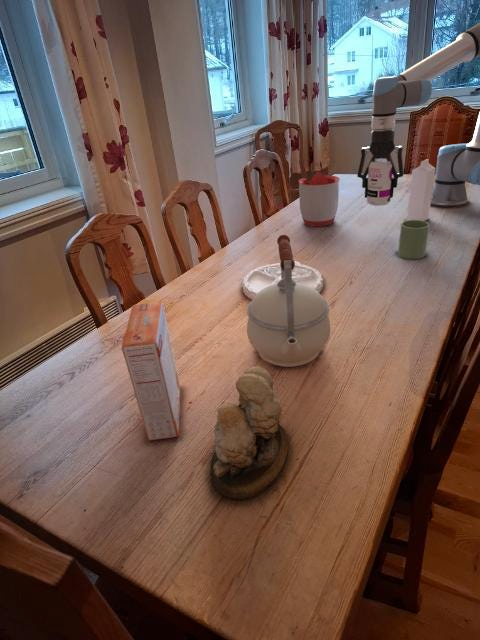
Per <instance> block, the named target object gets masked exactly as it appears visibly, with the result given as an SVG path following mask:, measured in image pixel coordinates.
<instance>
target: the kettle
mask: <svg viewBox="0 0 480 640" xmlns="http://www.w3.org/2000/svg"><path fill="white" fill-rule="evenodd" d="M276 243H277V245H278V255H279V260H280V266H281V280H280V281H279V282H278V283H277V284H273V285H270V286H268V287H266V288H264V289H262V290H261V291H259V292H258V293H257V294H256V296H255V297H254V298H253V300H252V299H251V301H250V302H249V303H248V305H247V307H246V316H247V317H248V318H247V321H246V322H247V323H246V336H247V338H248V341H249V344H250V345H251V346H252V348H254V350H255V351H256V352H258V355H259V356H260V358H261V359H262V360H264V361H265V362H266V363H269V364H271V365H274V366H276V367H277V366H278V367H283V368H285V367H286V368H291V367H299V366H304V365H306V364H308V363H311V362H313V361H314V360H315V359H316V358H317V357H318V356H319V354H320V353H321V350H322V349H323V348H324V347H325V346H326V344H327V343H328V341H329V339H330V336H331V321H330V318H329V312H330V305H329V303H328V301H327V300H326V299H325V298H324V297H323V296H322V295H321V294H320V293H319V292H318V291H316V290H315V289H314V288H312V287H310V286H308V285H305V284H301V283H296V282H294V281H293V280H292V270H293V269H294V267H295V263H294V261H295V260H294V257H293V256H294V255H293V251H292V246H291V239H290V237H289V236H288V235H287V234H279V236H278V237H277V241H276Z"/></svg>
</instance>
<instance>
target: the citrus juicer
mask: <svg viewBox="0 0 480 640" xmlns="http://www.w3.org/2000/svg"><path fill="white" fill-rule="evenodd" d="M298 184H299V185H298V187H299V188H298V192H299V194H298V195H299V196H298V197H299V210H300V214H301V218H302V221H303V222H304V224H305V225H307V226H310V227H314V228H315V227H322V226H329V225H332V224H333V223H334V221H335V219H336V215H337V212H338V207H339V192H340V191H339V190H340V189H339V188H340V177H338V176H336V175H329V174H324V173H323V172H321V171H317V172H316V173H315V174H314V175H313V176H312V178H311V180H310V181H308V179H307V178H305V177H302V178H299V179H298Z"/></svg>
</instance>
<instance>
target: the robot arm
mask: <svg viewBox="0 0 480 640" xmlns="http://www.w3.org/2000/svg"><path fill="white" fill-rule="evenodd" d="M479 57H480V22H478V23H477V24H475V25H473V26H472V27H470V28H468V29H466V30H465V31H463V32H461V33H460V34H459V35H458V36H457V37H456V40H455V41H453V42H451V43H449V44H448V45H446V46H444V47H442V48H441V49H439V50H437V51H436V52H434V53H433V54H431V55H429V56H428V57H426V58H425V59H424V58H423V59H422V60H421V61H420V62H417V63H416V64H414V65H413V66H411V67H409V68H408V69H406V70H405V71H403V72H401V73H400V74H398V75H395V76H394V75H393V76H383V77H377V78H376V79H375V80H374V82H373V91H372V110H371V111H372V113H371V114H372V116H371V129H372V131H371V132H370V145H369V146H367V147H362V148H361V150H360V154H361V157H360V161H359V167H358V171H357V178H360V179H361V181H362V182H361V183H362V184H361V186H362V187H361V188H362V189H364V199H367V189H368V172H369V165H370V163H371V161H372V162H374V161H375V159H380V158H383V159H387V161H390V162H391V164H392V180H391V193H390V199H392V198H393V197H394V189H396V188H397V187H398V181H399V178H402V177H404V174H405V173H404V164H403V149H404V146H403V145H399V146H398V145H396V144H395V132H396V131H395V129H394V128H396V119H397V109H400V108H404V107H407V108H408V107H415V106H418V107H419V106H421V105H425V104H426V103H428V102H429V101H430V99H431V96H432V90H433V87H432V83H431V81H433V80H436V78H438V77H440V76H441V75H443V74H445V73H447V72H449V71H450V70H452V69H454V68H456V67H457V66H459V65H460V64H462V63H463V62H465V63H469V62H471V61H473V60H474V59H477V58H479ZM394 150H395V153H396V154H397V164H398V166H397V167H398V171H397V168H396V166H395V163H394V160H393V158H392V152H394ZM369 152H370V153H371V155H372V157H371V158H370V161H369V162H368V165H367V167H366V168H365V172H364V171H363V170H364V167H365V162H366V157H367V155H368V153H369ZM436 157H437V159H436V167H435V175H434V183H433V190H432V197H431V204H430V206H434V207H438V208H457V207H463V206H466V205H467V203H468V195H467V188H466V183H469V184H472V185H473V186H475V185H477V186H480V112H479V113H478V117H477V121H476V125H475V129H474V133H473V137H472V140H471V141H470V142H469V143H456V144H448V145H447V144H446V145H443V146H440V148H439V150H438V154H437V156H436ZM363 172H364V173H363Z"/></svg>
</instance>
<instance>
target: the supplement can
mask: <svg viewBox="0 0 480 640" xmlns="http://www.w3.org/2000/svg"><path fill="white" fill-rule="evenodd" d="M370 161H371V160H370ZM369 163H370V162H369ZM368 165H369V164H368ZM392 177H393V174H392V164H391V162H390V161H387V159H383V158H380V159H375V161H374V162H372V161H371V163H370V165H369V172H368V175H367V178H368V189H367V198H366V202H367V203H368V205H370V206H375V207H379V206H386V205H388V204H389V203H390V202H391V198H390V193H391V180H392Z"/></svg>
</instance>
